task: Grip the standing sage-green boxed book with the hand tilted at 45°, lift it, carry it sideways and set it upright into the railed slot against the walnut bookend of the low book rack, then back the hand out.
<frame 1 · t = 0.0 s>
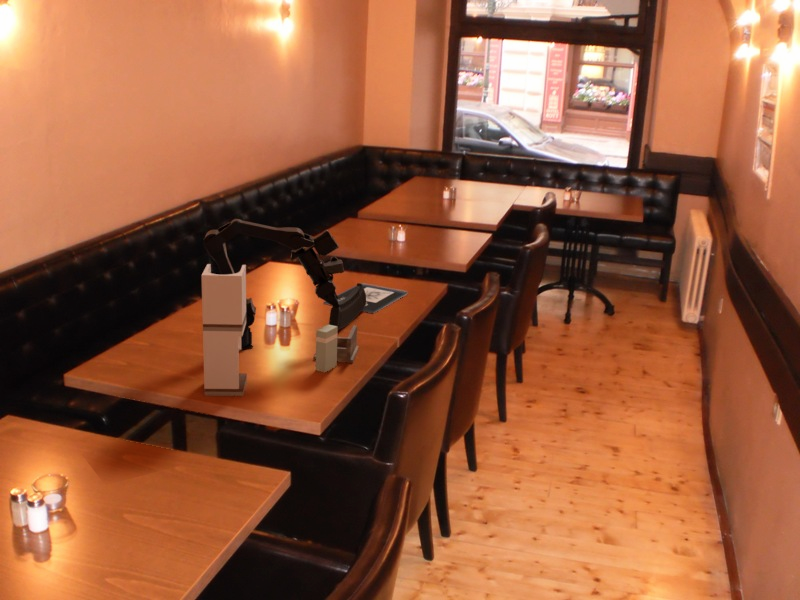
hand: (337, 303, 276), 15 cm above the table, tool tilted 35°, fingers open, 9 cm apart
book rack: (341, 354, 273), on the table
book: (326, 368, 262), on the table
beige rectangular tower: (226, 388, 244), on the table
magazine: (348, 321, 306), on the table
sketchbook: (367, 300, 332), on the table
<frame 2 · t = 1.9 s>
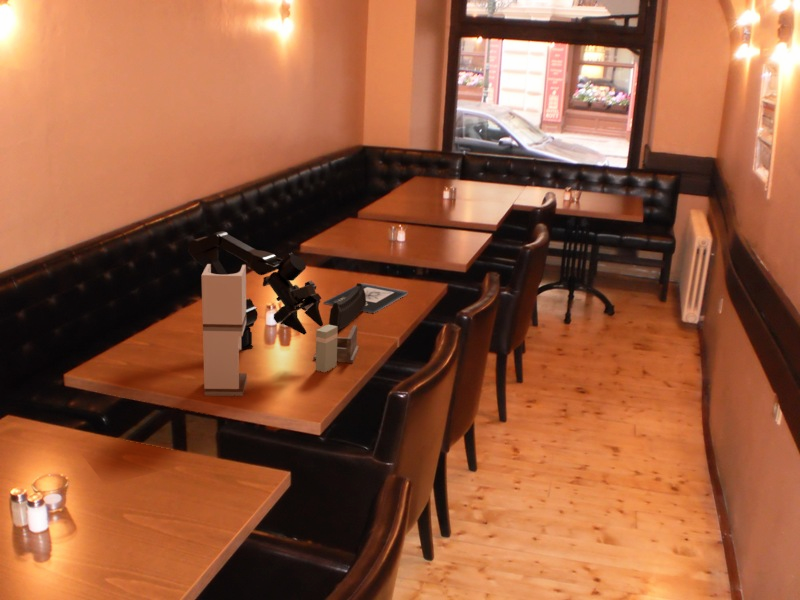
hand: (313, 329, 260), 12 cm above the table, tool tilted 45°, fingers open, 9 cm apart
nothing on the table moved.
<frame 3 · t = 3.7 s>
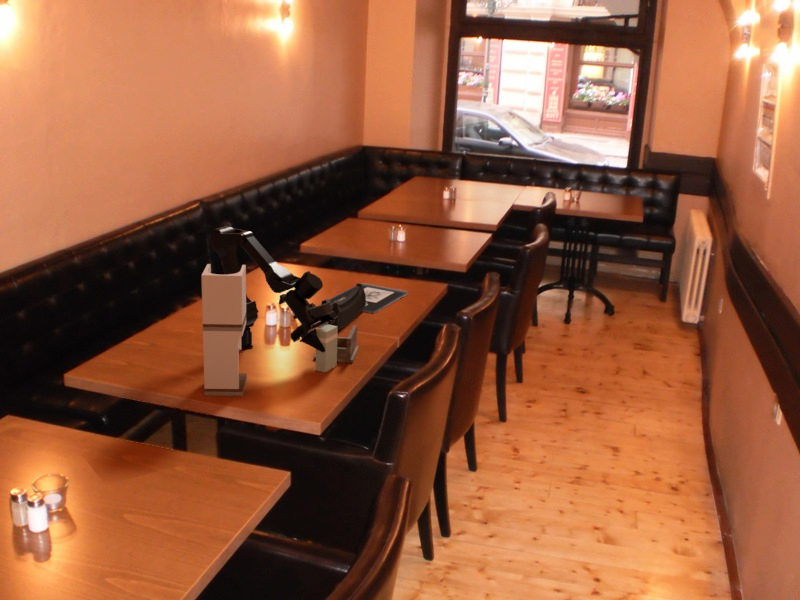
hand: (330, 348, 259), 7 cm above the table, tool tilted 45°, fingers closed on book, 6 cm apart
book: (326, 368, 262), on the table, touching gripper
everything else where it was.
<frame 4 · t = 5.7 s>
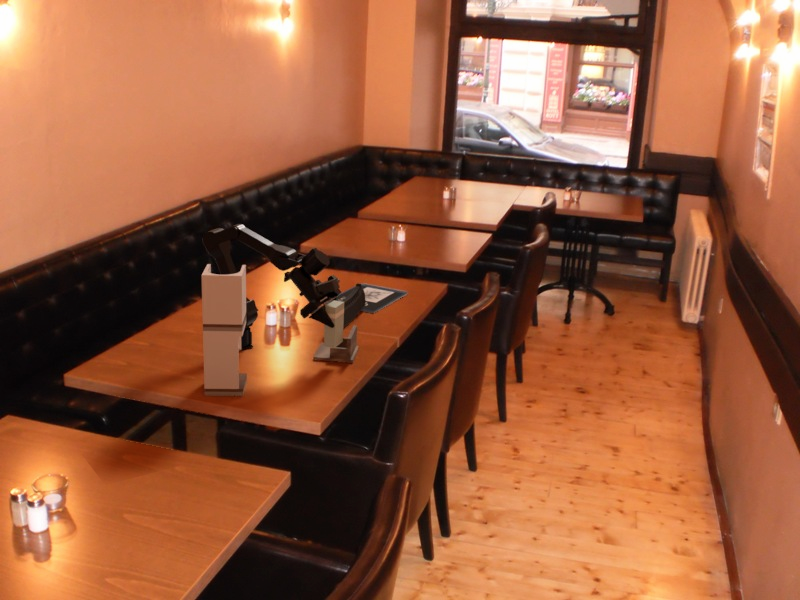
hand: (338, 323, 261), 13 cm above the table, tool tilted 45°, fingers closed on book, 6 cm apart
book: (333, 343, 264), point 7 cm above the table, touching gripper
everything else where it was.
when the fingers open (9 cm above the table, at t = 7.9 s): book drops 1 cm, resting on book rack.
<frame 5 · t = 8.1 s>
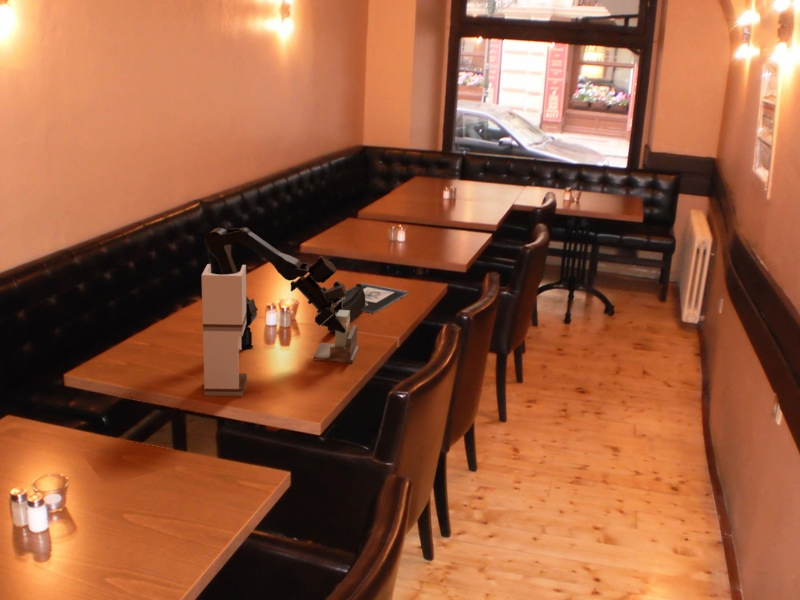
hand: (346, 327, 270), 9 cm above the table, tool tilted 45°, fingers open, 8 cm apart
book: (341, 351, 273), point 1 cm above the table, touching book rack
everything else where it was.
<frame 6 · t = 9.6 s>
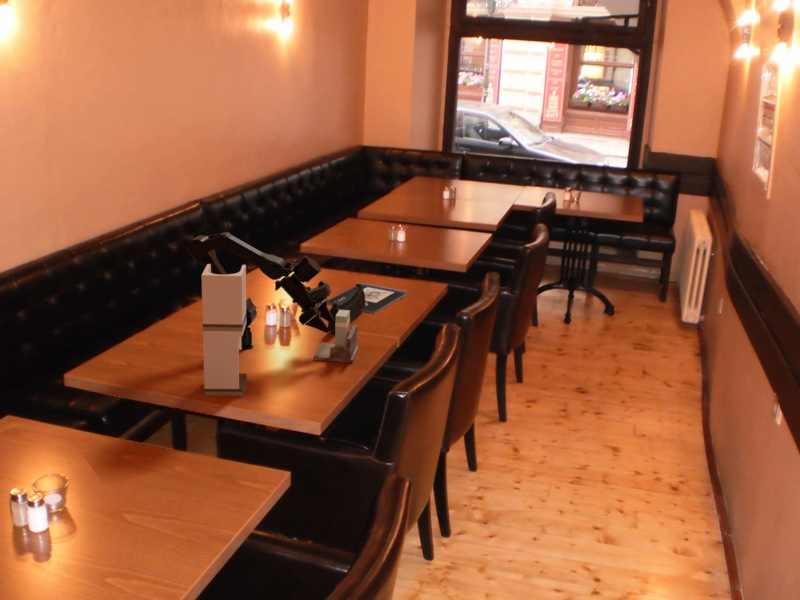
hand: (331, 327, 271), 9 cm above the table, tool tilted 45°, fingers open, 9 cm apart
nothing on the table moved.
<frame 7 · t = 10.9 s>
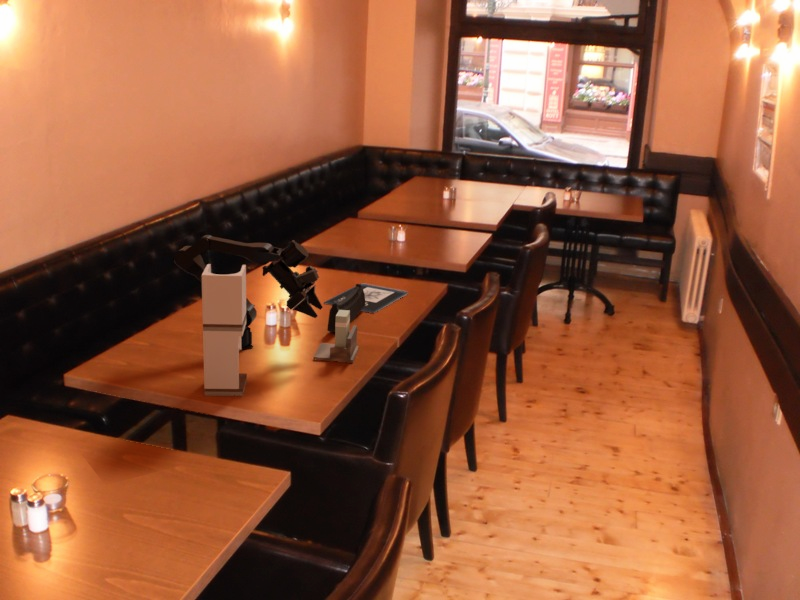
hand: (319, 312, 270), 14 cm above the table, tool tilted 45°, fingers open, 9 cm apart
nothing on the table moved.
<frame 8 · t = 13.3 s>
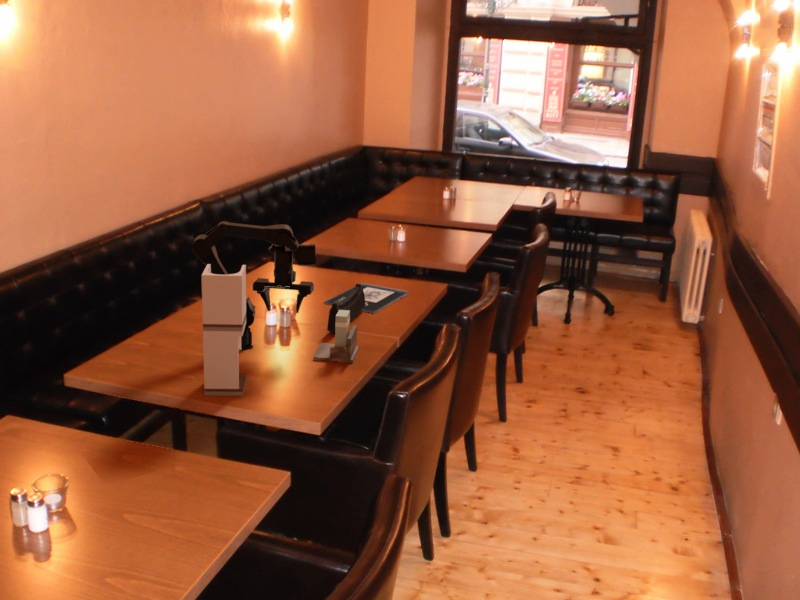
hand: (283, 311, 274), 12 cm above the table, tool pointing down, fingers open, 9 cm apart
at the end: book 0.0 cm off-centre on the book rack, point 1.0 cm above the book rack's base; book tilted 0°; the gripper is holding nothing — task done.
